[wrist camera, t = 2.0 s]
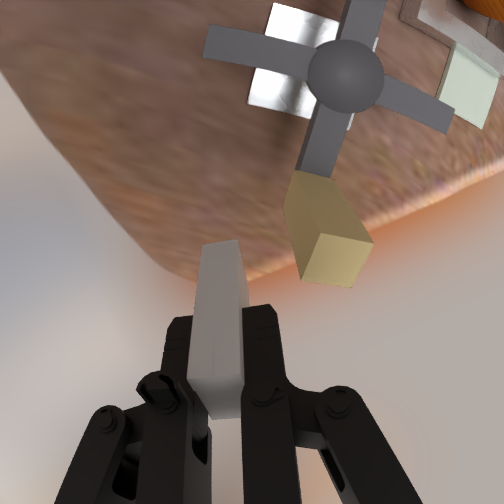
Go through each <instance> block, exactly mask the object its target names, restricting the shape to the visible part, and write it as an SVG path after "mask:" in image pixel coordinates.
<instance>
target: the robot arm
mask: <svg viewBox="0 0 504 504" xmlns="http://www.w3.org/2000/svg"><path fill="white" fill-rule="evenodd" d="M136 391H137V392H138V394H139V395H140V396H141V397H142V398H143V399H144V401H145V402H146V403H144V404H141V405H139V406H136V407H133V408H130V409H127V410H124V411H122V410H121V409H120V408H118V407H116V406H113V405H107V406H104V407H101V408H100V409H98V410H97V411H96V412H95V413H94V414H93V416H92V418H91V419H90V422H89V424H88V426H87V428H86V430H85V432H84V435H83V437H82V439H81V441H80V443H79V446H78V448H77V450H76V452H75V455H74V457H73V459H72V461H71V464H70V466H69V468H68V471H67V473H66V476H65V478H64V480H63V483H62V485H61V488H60V490H59V493H58V495H57V497H56V501H55V503H54V504H212V503H211V463H212V462H211V459H212V458H211V457H212V453H211V452H212V451H211V450H212V434H211V430H210V428H209V427H208V414H209V416H210V417H211V419H212V420H216V419H229V418H241V433H242V462H243V463H242V464H243V490H244V504H302V499H301V490H300V482H299V473H298V464H297V456H296V448H295V446H297V447H304V448H310V449H317V450H318V452H319V454H320V456H321V459H322V460H323V463H324V465H325V467H326V469H327V471H328V473H329V476H330V478H331V480H332V482H333V484H334V486H335V488H336V490H337V492H338V495H339V497H340V499H341V501H342V503H343V504H423V503H422V501H421V499H420V498H419V496H418V494H417V492H416V491H415V489H414V487H413V485H412V484H411V482H410V480H409V478H408V477H407V475H406V473H405V471H404V470H403V468H402V466H401V464H400V463H399V461H398V459H397V457H396V456H395V454H394V452H393V451H392V449H391V447H390V445H389V444H388V442H387V440H386V438H385V437H384V435H383V433H382V432H381V430H380V428H379V426H378V425H377V423H376V421H375V420H374V418H373V416H372V415H371V413H370V411H369V409H368V408H367V406H366V404H365V403H364V401H363V399H362V398H361V396H360V395H359V394H358V393H357V392H356V391H355V390H354V389H352V388H349V387H347V386H334V387H330V388H328V389H326V390H324V391H323V392H313V391H305V390H302V389H299V388H297V387H295V386H294V385H292V384H291V383H290V382H289V380H288V379H287V377H286V372H285V365H284V357H283V350H282V343H281V337H280V330H279V324H278V317H277V313H276V312H275V310H274V309H273V308H272V306H271V305H270V304H265V305H259V306H252V307H249V292H248V284H247V279H246V275H245V271H244V266H243V262H242V257H241V253H240V248H239V244H238V239H233V240H227V241H221V242H215V243H209V244H203V245H202V251H201V259H200V266H199V274H198V281H197V290H196V297H195V306H194V314H193V315H192V316H183V317H175V318H174V319H173V321H172V322H171V324H170V325H169V327H168V329H167V335H166V342H165V346H164V352H163V358H162V364H161V370H160V371H156V372H151V373H149V374H148V375H146V376H144V378H142V380H141V381H140V382H139V383H138V386H137V388H136Z"/></svg>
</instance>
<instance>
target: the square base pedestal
mask: <svg viewBox="0 0 504 504" xmlns="http://www.w3.org/2000/svg"><path fill="white" fill-rule="evenodd" d="M338 26H339V22H336V21H334V20H331V19H328V18H325V17H322V16H319V15H315V14H312V13H309V12H306V11H302V10H299V9H295V8H292V7H288V6H284V5H280V4H276V3H274V4H273V6H272V9H271V13H270V16H269V20H268V23H267V27H266V31H265V34H264V35H268V36H272V37H276V38H280V39H284V40H288V41H292V42H295V43H299V44H302V45H306V46H309V47H312V48H316V47H317V46H319V45H320V44H322V43H324V42H327V41H331V40H335V36H336V33H337V29H338ZM377 42H378V38H377V37H376V40H375V43H374V46H373V50H372V51H373V52H375V48H376V45H377ZM315 103H316V98H315V97H314V96H313V95H312V93H311V92H310V90H309V89H308V87H307V84H306V81H305V80H303V79H299V78H295V77H292V76H288V75H284V74H280V73H276V72H272V71H268V70H264V69H259V68H255V72H254V76H253V80H252V84H251V88H250V92H249V96H248V100H247V104H251V105H256V106H260V107H265V108H269V109H273V110H277V111H282V112H286V113H290V114H293V115H297V116H301V117H305V118H308V119H311V116H312V113H313V109H314V106H315ZM354 114H355V113H352V115H351V118H350V121H349V124H348V127H347V130H349V129H350V126H351V123H352V120H353V117H354Z"/></svg>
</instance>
